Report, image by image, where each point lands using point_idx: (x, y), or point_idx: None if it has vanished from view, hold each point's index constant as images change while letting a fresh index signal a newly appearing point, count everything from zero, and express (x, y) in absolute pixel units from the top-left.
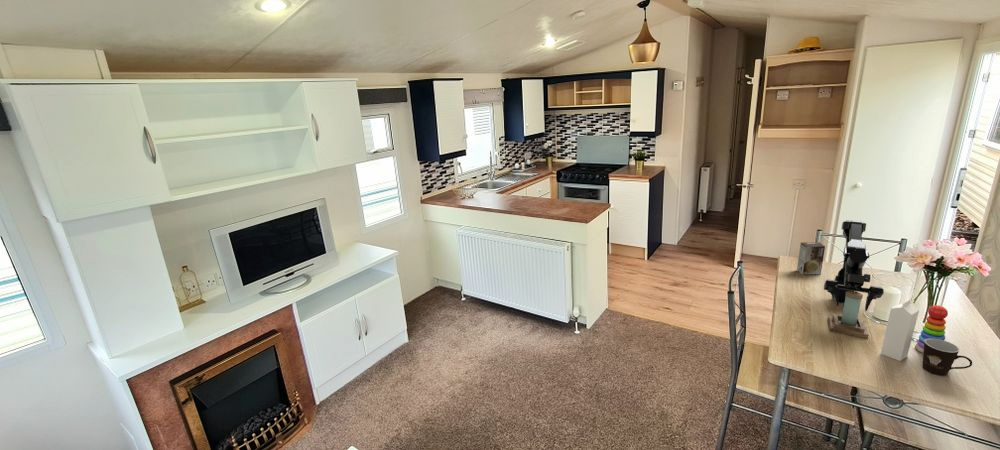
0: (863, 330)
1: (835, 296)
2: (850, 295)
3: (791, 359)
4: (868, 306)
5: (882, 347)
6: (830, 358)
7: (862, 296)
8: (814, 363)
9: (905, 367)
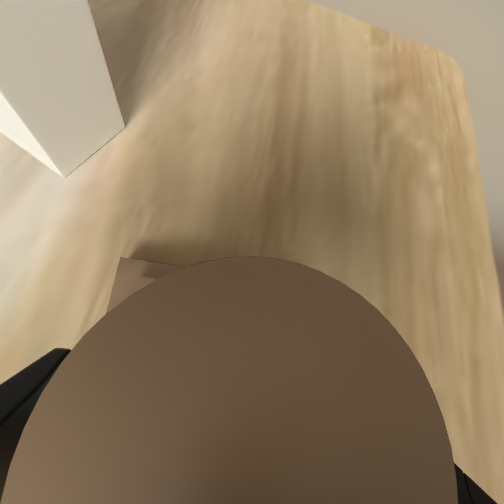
0: (141, 277)
1: (467, 477)
2: (362, 304)
3: (424, 50)
4: (6, 384)
5: (115, 96)
6: (322, 68)
7: (64, 367)
8: (367, 39)
9: None
